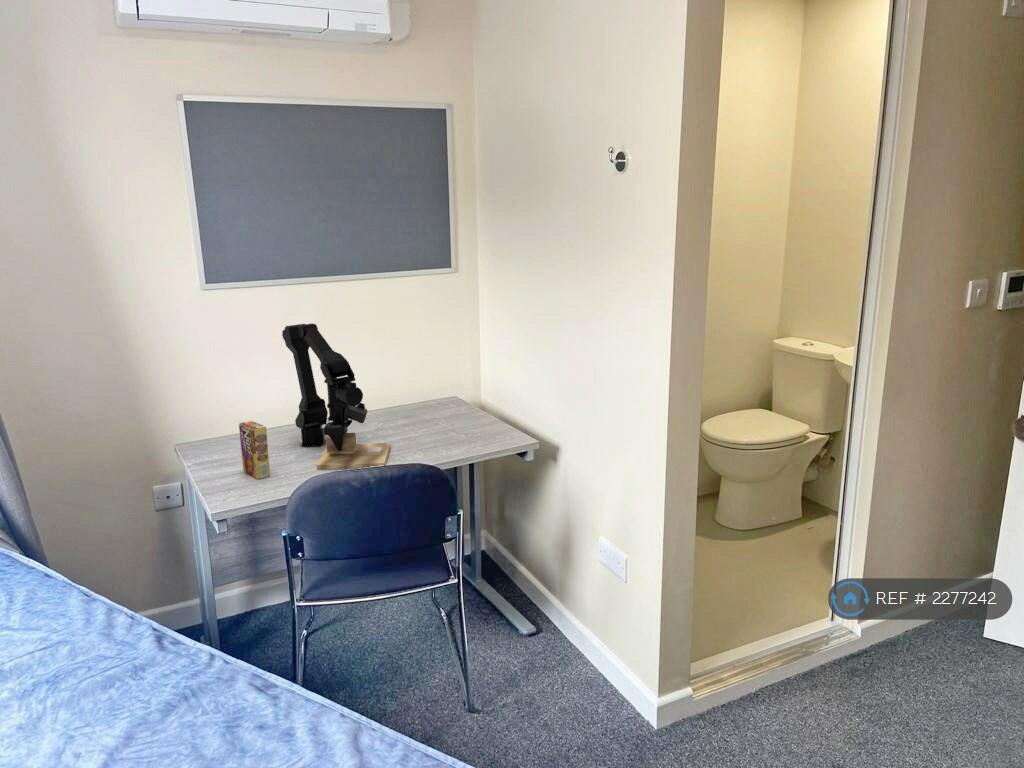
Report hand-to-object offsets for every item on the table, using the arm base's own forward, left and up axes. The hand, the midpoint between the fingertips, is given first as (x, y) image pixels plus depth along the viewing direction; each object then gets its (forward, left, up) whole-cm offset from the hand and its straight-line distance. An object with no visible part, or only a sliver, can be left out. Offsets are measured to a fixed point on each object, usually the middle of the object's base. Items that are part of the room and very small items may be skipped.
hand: (341, 447), depth 231 cm
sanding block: (0, 0, -1) cm, 1 cm away
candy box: (-23, -11, -4) cm, 26 cm away
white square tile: (+10, 0, -2) cm, 10 cm away
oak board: (+4, 0, -4) cm, 5 cm away
